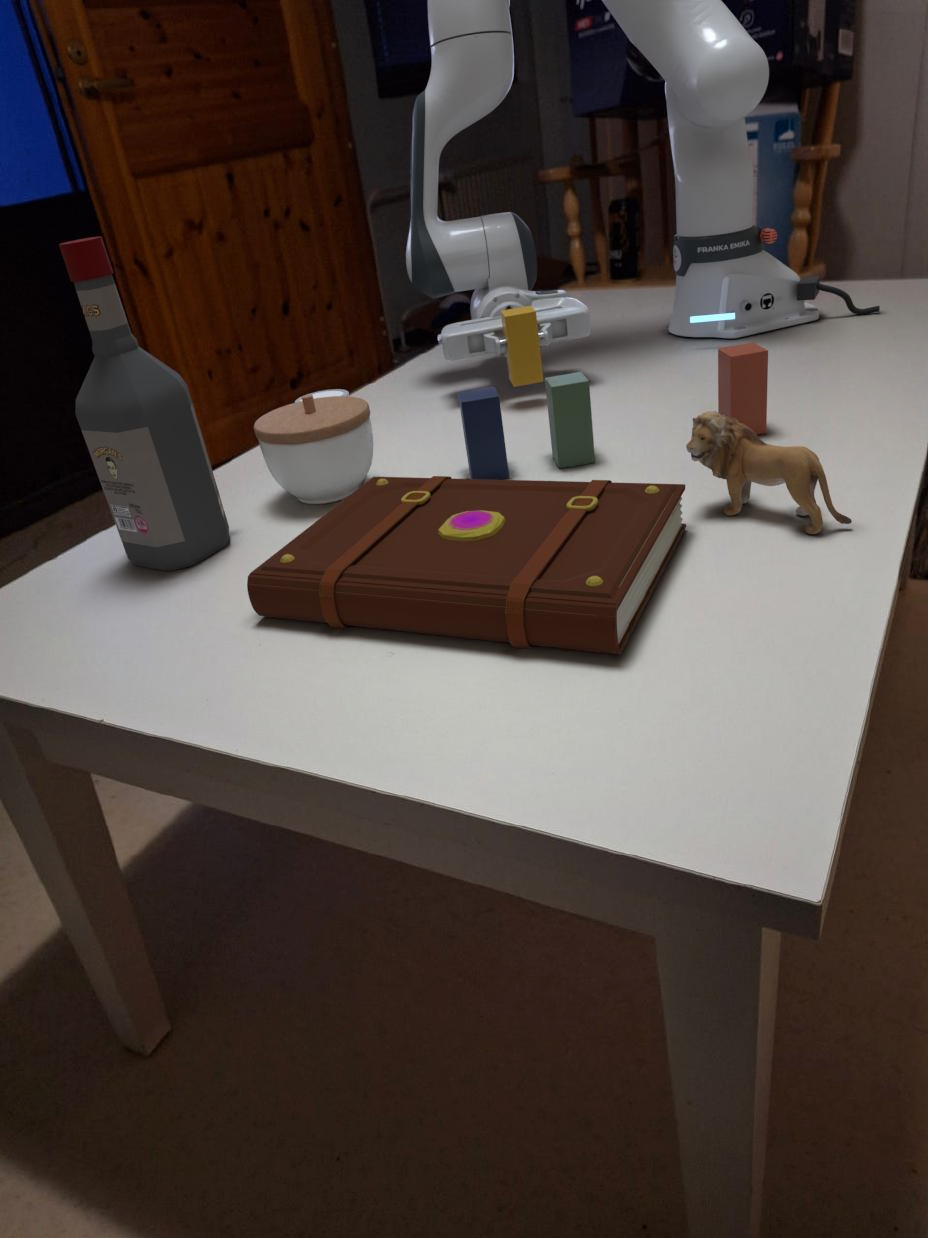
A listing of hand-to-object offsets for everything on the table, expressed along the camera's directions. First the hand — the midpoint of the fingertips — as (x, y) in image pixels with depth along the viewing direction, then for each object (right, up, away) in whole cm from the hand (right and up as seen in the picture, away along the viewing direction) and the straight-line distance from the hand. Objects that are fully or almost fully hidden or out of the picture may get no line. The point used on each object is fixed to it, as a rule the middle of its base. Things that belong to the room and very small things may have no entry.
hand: (523, 343), depth 115 cm
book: (-6, -32, -37) cm, 49 cm away
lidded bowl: (-23, -21, -14) cm, 34 cm away
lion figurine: (+19, -26, -35) cm, 48 cm away
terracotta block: (+23, -15, -16) cm, 32 cm away
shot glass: (-24, -14, -1) cm, 28 cm away
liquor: (-37, -29, -23) cm, 52 cm away
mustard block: (+1, -4, +3) cm, 5 cm away
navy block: (-5, -19, -16) cm, 26 cm away
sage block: (+5, -18, -16) cm, 25 cm away
